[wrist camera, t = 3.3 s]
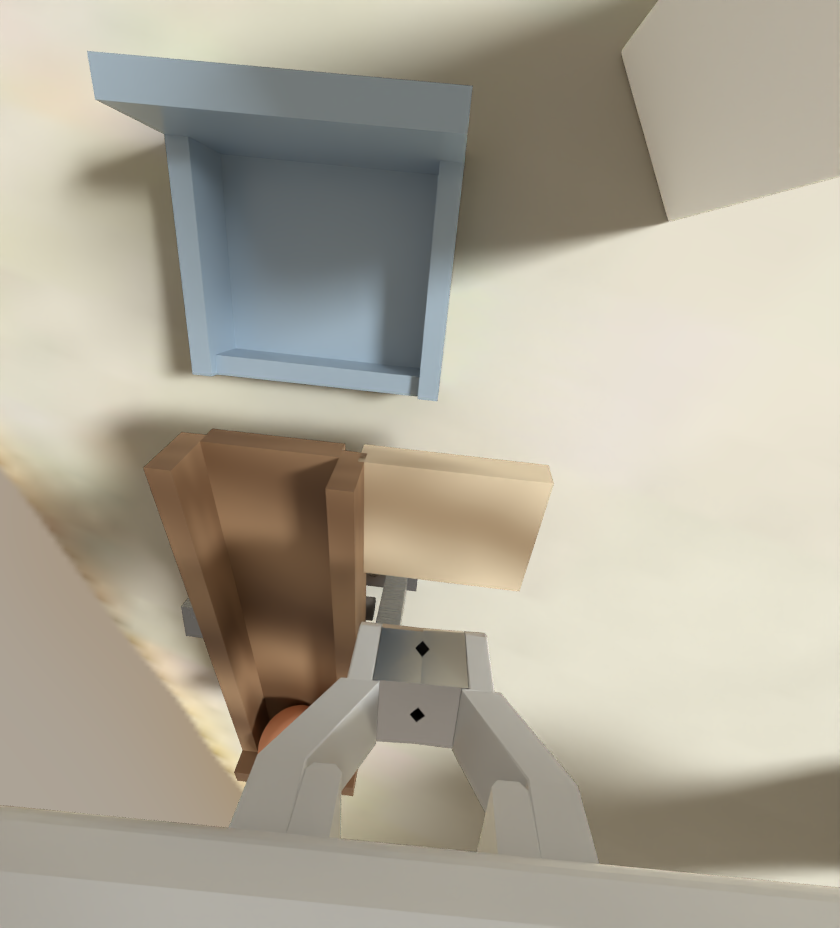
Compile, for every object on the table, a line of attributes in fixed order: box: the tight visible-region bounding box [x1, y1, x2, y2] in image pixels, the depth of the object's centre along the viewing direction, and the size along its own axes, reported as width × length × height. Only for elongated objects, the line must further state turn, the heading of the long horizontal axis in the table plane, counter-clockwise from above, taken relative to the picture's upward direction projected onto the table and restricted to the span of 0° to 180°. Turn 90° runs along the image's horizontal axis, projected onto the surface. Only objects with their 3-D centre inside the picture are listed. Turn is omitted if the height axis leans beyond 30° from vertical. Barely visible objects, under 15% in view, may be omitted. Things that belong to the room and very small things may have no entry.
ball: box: [258, 705, 309, 753], centre depth 21 cm, size 4×4×4 cm
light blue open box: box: [87, 51, 473, 401], centre depth 16 cm, size 10×9×6 cm
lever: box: [143, 429, 554, 796], centre depth 18 cm, size 19×12×4 cm, turn 175°
